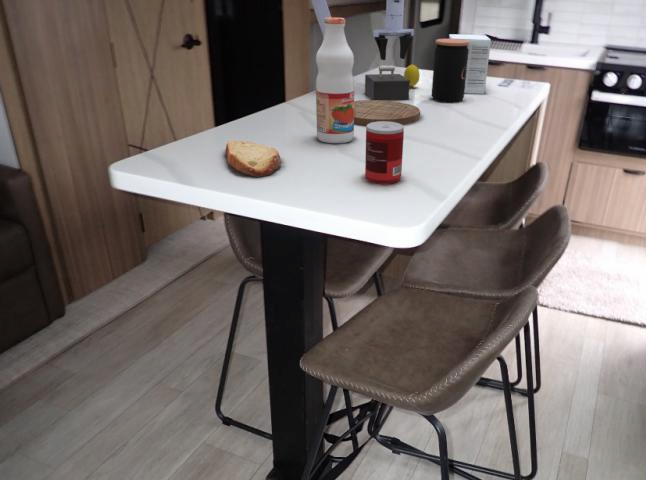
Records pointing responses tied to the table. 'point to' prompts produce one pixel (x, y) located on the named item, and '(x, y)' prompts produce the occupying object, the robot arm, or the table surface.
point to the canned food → (384, 152)
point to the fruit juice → (335, 85)
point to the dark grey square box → (386, 90)
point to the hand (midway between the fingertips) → (392, 59)
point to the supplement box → (476, 62)
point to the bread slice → (252, 158)
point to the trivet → (384, 112)
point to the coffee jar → (450, 70)
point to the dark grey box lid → (387, 76)
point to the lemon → (412, 75)
